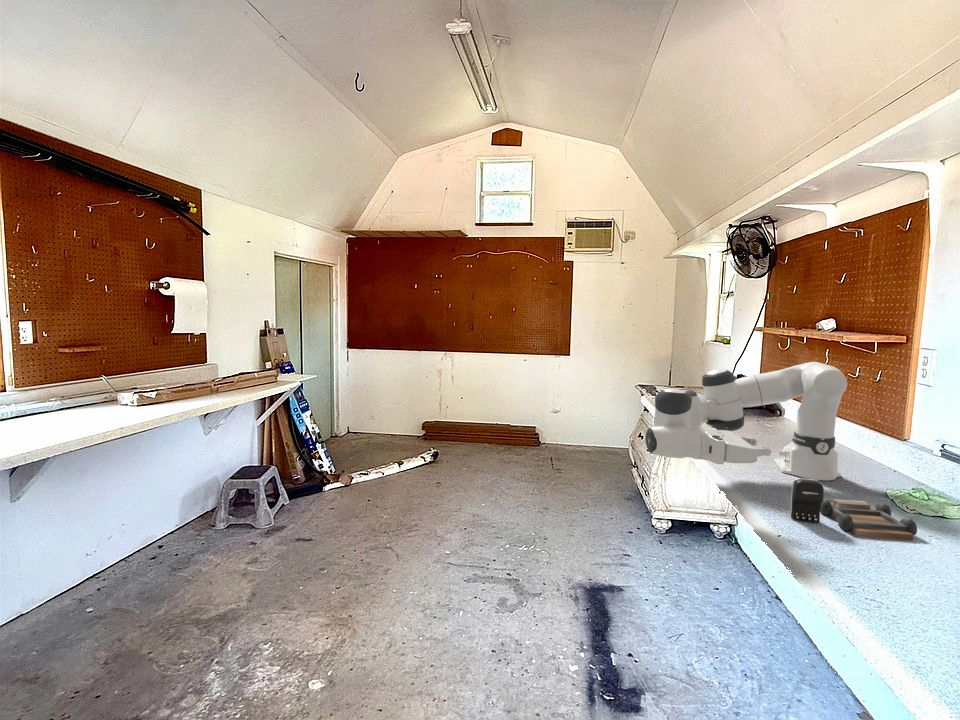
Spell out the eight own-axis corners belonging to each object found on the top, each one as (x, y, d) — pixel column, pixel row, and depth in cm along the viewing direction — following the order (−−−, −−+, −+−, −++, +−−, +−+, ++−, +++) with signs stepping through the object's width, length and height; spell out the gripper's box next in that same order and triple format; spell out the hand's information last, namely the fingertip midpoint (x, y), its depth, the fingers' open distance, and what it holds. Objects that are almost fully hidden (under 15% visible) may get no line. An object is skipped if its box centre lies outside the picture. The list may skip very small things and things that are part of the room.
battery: (792, 522, 135) (796, 481, 134) (788, 516, 138) (792, 476, 137) (822, 525, 133) (826, 484, 131) (817, 520, 136) (821, 479, 135)
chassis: (815, 509, 144) (816, 495, 143) (877, 513, 141) (879, 499, 141) (849, 535, 127) (850, 520, 127) (920, 541, 125) (922, 525, 124)
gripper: (697, 444, 148) (747, 447, 146) (719, 466, 128) (777, 469, 126) (698, 423, 147) (749, 426, 145) (720, 442, 127) (779, 445, 125)
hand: (762, 446), depth 135 cm, fingers open, 8 cm apart
